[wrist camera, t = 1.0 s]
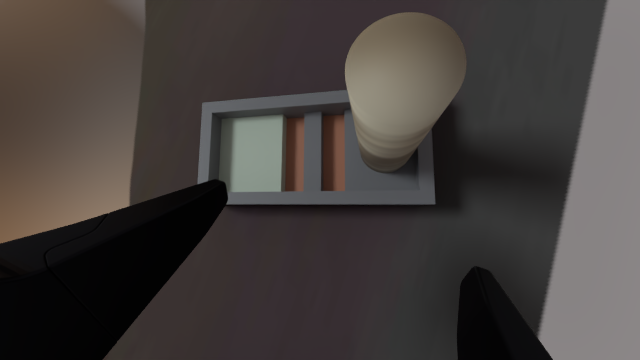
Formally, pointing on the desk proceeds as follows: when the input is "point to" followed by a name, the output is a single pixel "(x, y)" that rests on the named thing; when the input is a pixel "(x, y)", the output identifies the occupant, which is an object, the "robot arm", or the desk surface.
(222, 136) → the box
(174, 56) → the desk surface
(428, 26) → the beige tall rounded piece
